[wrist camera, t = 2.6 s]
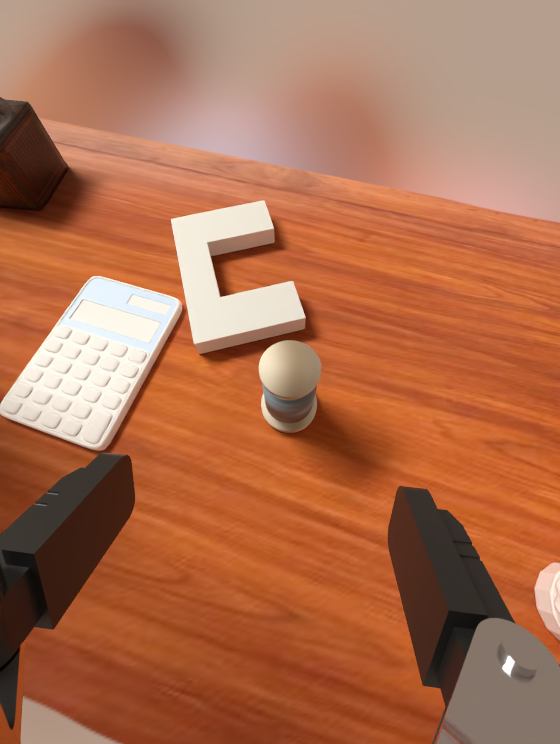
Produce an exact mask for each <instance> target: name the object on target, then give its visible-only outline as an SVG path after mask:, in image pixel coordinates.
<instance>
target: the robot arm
mask: <svg viewBox="0 0 560 744" xmlns="http://www.w3.org/2000/svg"><path fill="white" fill-rule="evenodd" d="M134 503H135V491H134V482H133V472H132V463H131V458H130V457H129V456H128V455H121V454H112V453H101V454H99V455H98V456H97V457H96V458H95V459H94V460H93V461H92V462H91V463H90V464H89V465H88V466H87V467H86V468H79V469H77V470H76V471H74V472H72V473H70V474H68V475H67V476H65V477H63V478H61V479H60V480H59V481H58V482H57V483H56V484H55V485H54V486H53V487H52V488H51V489H50V490H48V493H47V494H44V495H43V496H42V497H41V498H40V499H39V500H38V501H37V502H36V504H35V505H32V506H31V507H30V508H29V509H28V510H27V511H26V512H25V513H23V514H22V515H21V516H20V517H19V518H18V519H17V520H16V521H15V522H14V523H13V524H12V525H10V526H9V527H8V528H7V529H6V530H5V531H4V532H3V533H2V534H1V535H0V744H21V742H20V735H21V716H22V700H23V682H24V665H25V643H24V640H25V639H26V637H27V636H28V634H29V633H30V632H31V630H32V629H33V628H34V627H39V628H46V629H54V628H55V626H56V625H57V624H58V622H59V621H60V619H61V618H62V616H63V615H64V613H65V612H66V610H67V609H68V607H69V606H70V604H71V603H72V601H73V600H74V598H75V597H76V596H77V594H78V593H79V591H80V590H81V588H82V587H83V585H84V584H85V582H86V581H87V579H88V578H89V576H90V575H91V573H92V572H93V570H94V569H95V568H96V566H97V565H98V563H99V562H100V560H101V559H102V557H103V556H104V554H105V553H106V551H107V550H108V548H109V547H110V545H111V544H112V542H113V541H114V540H115V538H116V537H117V535H118V534H119V532H120V531H121V529H122V528H123V526H124V525H125V523H126V522H127V520H128V519H129V517H130V515H131V513H132V510H133V507H134ZM388 547H389V552H390V556H391V560H392V564H393V568H394V572H395V576H396V580H397V584H398V588H399V592H400V596H401V600H402V604H403V608H404V612H405V616H406V620H407V624H408V628H409V632H410V636H411V640H412V644H413V648H414V652H415V656H416V660H417V664H418V668H419V672H420V676H421V680H422V684H423V686H429V687H436V688H441V692H442V695H443V699H444V702H445V709H444V711H443V714H442V717H441V719H440V722H439V725H438V728H437V730H436V733H435V736H434V739H433V741H432V744H560V665H559V664H558V662H557V661H556V659H555V658H554V656H553V655H552V653H551V652H550V651H549V650H548V649H547V648H546V646H545V645H544V644H543V643H542V642H541V641H540V640H539V639H537V638H536V637H535V636H534V635H533V634H531V633H530V632H529V631H527V630H526V629H524V628H522V627H521V626H519V625H517V624H516V623H515V622H514V620H513V618H512V616H511V615H510V613H509V611H508V609H507V607H506V605H505V603H504V602H503V600H502V598H501V596H500V594H499V592H498V590H497V589H496V587H495V585H494V583H493V581H492V579H491V577H490V575H489V574H488V572H487V570H486V568H485V566H484V564H483V562H482V561H480V557H479V555H478V553H477V551H476V549H475V548H474V546H472V542H471V540H470V538H469V536H468V535H467V533H466V531H465V529H464V527H463V525H462V524H461V523H460V522H459V521H458V520H457V519H456V518H455V517H454V516H453V515H452V514H450V513H449V512H448V511H447V510H440V509H437V507H436V505H435V503H434V501H433V498H432V496H431V494H430V492H429V491H428V490H427V489H421V488H412V487H403V486H399V487H398V489H397V492H396V497H395V501H394V505H393V510H392V514H391V519H390V523H389V528H388Z"/></svg>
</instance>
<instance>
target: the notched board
mask: <svg viewBox="0 0 560 744" xmlns="http://www.w3.org/2000/svg"><path fill="white" fill-rule="evenodd" d="M171 223H172V228H173V233H174V239H175V244H176V250H177V255H178V260H179V266H180V271H181V276H182V282H183V287H184V293H185V298H186V303H187V309H188V314H189V319H190V325H191V330H192V336H193V341H194V345H195V347H196V349H197V351H198V353H199V354H203V353H207V352H211V351H215V350H219V349H224V348H228V347H232V346H236V345H240V344H244V343H249V342H253V341H257V340H261V339H265V338H270V337H274V336H278V335H282V334H286V333H290V332H295V331H299V330H303V329H305V321H306V317H305V314H304V311H303V308H302V306H301V303H300V300H299V297H298V294H297V292H296V289H295V286H294V283H293V281H290V282H285V283H281V284H276V285H272V286H267V287H263V288H259V289H254V290H250V291H245V292H241V293H236V294H232V295H227V296H223V297H220V293H219V288H218V284H217V280H216V276H215V272H214V267H213V263H212V259H211V256H215V255H219V254H224V253H229V252H234V251H238V250H243V249H248V248H252V247H257V246H262V245H266V244H271V243H275V239H274V227H273V224H272V221H271V218H270V216H269V213H268V210H267V207H266V204H265V201H264V200H263V201H258V202H253V203H248V204H243V205H238V206H233V207H228V208H223V209H218V210H213V211H208V212H203V213H198V214H193V215H188V216H183V217H178V218H173V219H171Z"/></svg>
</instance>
